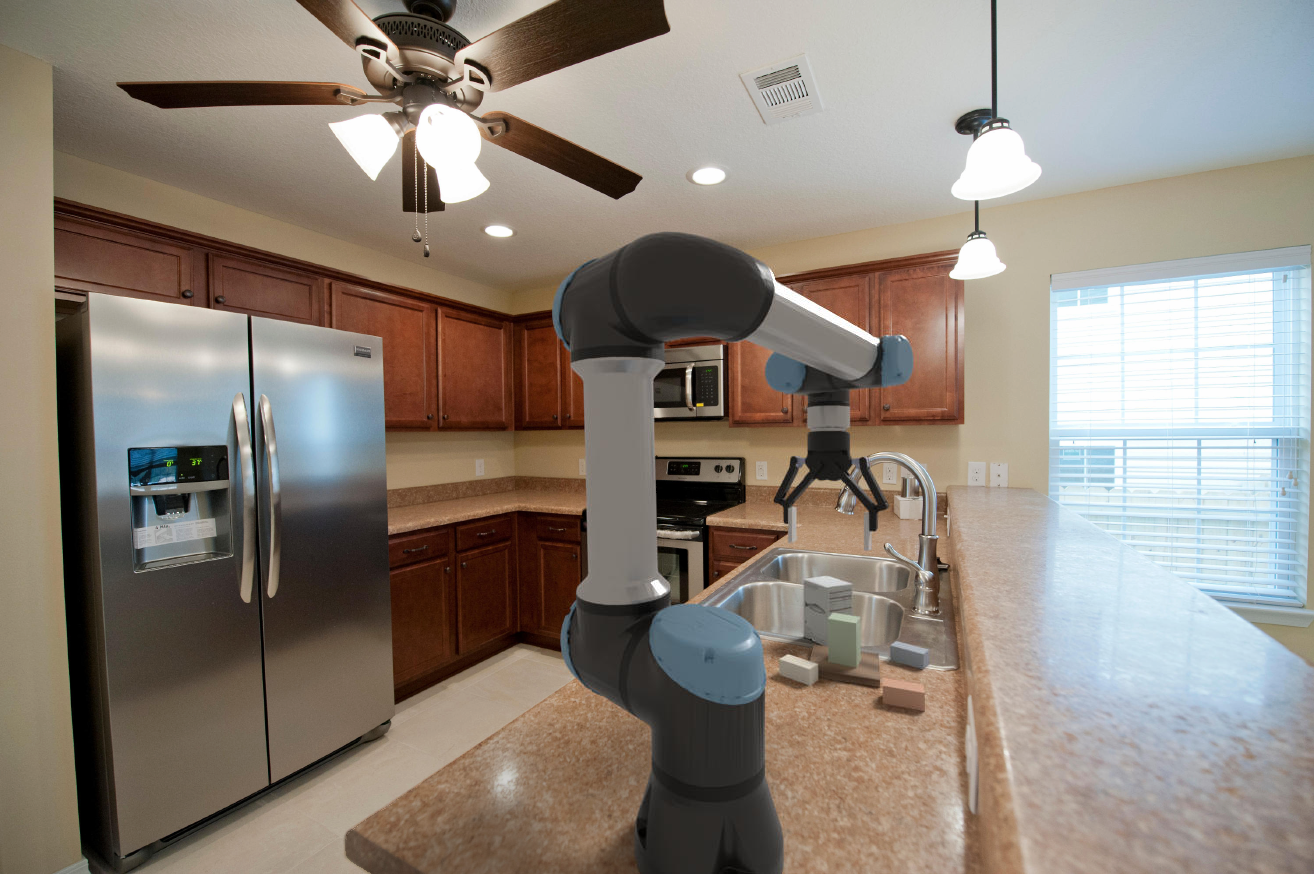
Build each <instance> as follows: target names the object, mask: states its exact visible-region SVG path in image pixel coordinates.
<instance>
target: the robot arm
mask: <svg viewBox="0 0 1314 874" xmlns="http://www.w3.org/2000/svg"><path fill="white" fill-rule="evenodd" d="M551 310H552V312H551V313H552V322H553V327H554V331H555V333H556V335H557V338H558V339H559V340H561V341H562V342H563V346H564V347H565V349H566V350H567V351H568V352H569V353H570V368H571V370H572V371H573V372H575V373H576V374H577V375H578V377H580V378H581V380H582V383H583V410H584V411H583V413H584V453H585V457H584V458H585V493H586V494H585V495H586V496H585V497H586V533H587V536H586V537H587V540H586V541H587V572H588V573H587V576H586V577H585V578H584V579H583V580H582V581H581V582H580V584H578V586H577V588H576V594H575V598H576V600H574V602H573V603H572V604H571V606H570V608H569V609H570V612H569V613H568V614H567V615H565V617H564V619H563V622H562V626H561V631H560V648H561V649H560V650H561V655H562V659H563V660H564V663H565V665H566V667H567V669H568V670H569V672H570V673H571V674H572V676H574V678H575V679H577V680H578V681H579V682H580V683H581V684H582V685H583V686H584V687H585V688H586V689H588V690H590V691H591V692H592V693H593V694H596V695H598V696H602V697H604V698H605V699H606V700H608V701H610V702H611V703H613V704H615V705H616V706H618V707H620V708H621V709H622V710H624V711H626V712H627V713H629V714H630V715H632V716H634V717H635V718H637V719H639V720H640V721H641V722H644V723H645V724H647V726H649V728H650V731H651V732H650V733H651V737H650V738H651V742H650V743H651V745H650V748H651V749H650V750H651V751H650V752H651V767H650V768H651V769H650V770H651V771H650V773H649V774H650V775H649V776H648V779H647V783H646V786H645V789H644V794H643V796H642V799H641V802H640V805H639V809H638V812H637V816H636V818H635V819H636V820H635V825H634V857H635V862H636V865H637V868H638V870H639V873H640V874H783V871H784V870H783V869H784V865H785V864H784V863H785V859H784V857H785V856H784V855H785V854H784V853H785V852H784V849H785V848H784V834H783V829H782V825H781V821H780V819H779V816H778V812H777V809H776V806H775V803H774V800H773V796H772V793H771V791H770V788H769V784H768V781H767V777H766V685H767V672H766V671H767V670H766V665H765V658H764V645H763V642H762V639H761V636H760V634H759V632H758V631H757V629H755V627H754V626H753V625H752V624H751V623H750V622H749V621H748V620H747V619H746V618H745V617H744V618H743V617H742V616H740V615H738V614H736V613H734V612H732V611H729V610H727V609H725V608H722V607H719V606H715V605H709V606H705V605H702V604H700V603H679V604H673V605H672V604H671V603H672V599H671V584H670V582H669V581H668V580H667V579H666V578H665V577H664V576H663V575H661V573H660V572H659V571H658V570H659V568H658V565H659V564H658V532H657V530H658V529H657V523H658V522H657V493H656V492H657V491H656V488H657V486H656V485H657V484H656V481H657V480H656V453H655V452H656V447H655V442H656V441H655V418H654V417H655V410H654V409H655V408H654V407H655V405H654V403H655V402H654V379H655V378H656V376H657V375H658V374H660V372H661V371H663V369H664V368H665V366H666V357H665V355H666V354H665V353H666V352H665V344H666V343H670V342H672V341H677V340H681V339H682V340H683V339H689V338H701V337H703V338H706V337H709V338H713V339H718V340H721V341H723V342H726V343H734V344H735V343H740V342H743V341H748V342H750V343H752V344H755V345H757V346H760V347H762V348H765V349H767V350H769V351H771V352H772V354H770V356H768V358H767V360H766V363H765V366H764V376H765V377H764V378H765V380H766V383H767V384H768V386H769V387H770V388H771V389H773V390H774V391H776V392H779V393H782V394H785V395H795V396H797V395H798V396H806V397H807V401H806V402H807V407H806V408H807V411H806V412H807V414H806V415H807V418H806V419H807V421H806V425H807V426H806V427H807V429H808V430H810V431H809V432H808V433H807V437H806V438H807V441H806V444H807V447H806V449H807V450H806V451H807V453H806V457H800V456H799V455H792V456H791V457H790V458H789V459H790V460H789V466H788V470H787V471H786V473H785V476H784V478H783V480H782V481H781V483H780V486H779V488H778V489H777V492H776V494H775V496H774V497H773V503H775V504H778V505H780V506H781V507H782V509H783V513H782V515H783V516H782V518H783V524H784V525H787V528H788V529H787V531H788V532H787V535H788V536H787V539H788V540H787V542H788V544H789V543H790V544H792V543H795V542H797V541H798V540H797V537H798V536H797V533H798V531H797V529H798V527H797V518H798V517H797V506H794V503H796V501H798V499H799V498H800V497H801V496H802V495H803V494H804V493H805V491H806V490H807V489H808V488H809V487H810V485H811V484H813V482H815V480H817V481H819V482H821V481H831V482H838V481H841V482H842V483H844V485H846V486H847V488H848V489H849V490H850V491H851V493H852V494H853V495H854V496H855V497H856V498H857V500H858V501H859V502H860V503H861V504H862V505H863V507H864V508H865V509H866V510H867V511H866V512H864V513H863V551H865V552H869V551H871V550H872V549H873V548H872V541H873V540H872V532H874V533H875V532H877V530H878V529H879V527H878V523H879V521H878V519H879V515H878V514H879V512H883V511H886V510H888V509H889V508H890V504H889V502H888V500H887V498H886V497H885V495H884V492H883V491H882V489H881V486H880V485H879V483H878V482H877V479H876V478H875V476H874V473H873V472H872V470H871V465H870V460H869V458H868V457H867V456H862V457H857V458H853V457H852V455H851V433H849V431H847V429H850V427H851V406H850V405H851V404H850V402H851V401H850V395H851V394H850V391H853V390H863V389H865V390H866V389H876V388H882V389H886V388H887V387H893V386H900V385H904V384H906V383H907V382H908V381H909V380H910V378H911V376H912V374H913V370H914V353H913V349H912V346H911V343H910V341H909V340H908V339H907V338H906V337H905V336H904V335H901V334H894V335H887V334H886V335H882V336H880V337H875V336H873V335H871V334H870V333H868V332H867V331H865V330H863V329H861V328H860V327H858V326H856V325H854V324H852V323H850V322H849V321H847V320H846V319H844V318H841V316H839V315H836V314H835V313H833V312H831V311H829V310H828V309H827V308H824V307H823V306H821V305H819V304H818V303H816V302H814V301H812V300H811V299H808V298H807V297H805V296H803V295H802V294H799V293H798V292H796V291H794V290H793V289H791V288H789V287H787V286H785V285H784V284H782V283H780V282H778V281H777V280H776V279H775V276H774V273H773V272H772V269H771V268H770V267H769V266H768V265H767V264H766V263H765V262H763V261H761V260H760V259H758V258H756V257H754V256H752V255H751V254H748V253H747V252H745V251H743V250H741V249H739V248H737V247H734V246H731V245H729V244H728V243H727V244H726V243H724V242H721V241H719V240H716V239H712V238H708V237H706V236H700V235H697V234H692V233H687V232H680V231H659V232H654V233H653V232H652V233H649V234H646V235H643V236H641V237H640V236H639V237H638V238H636V239H634V240H633V241H631V242H629V243H627V244H625V245H623V246H621V247H619V248H617V249H615V250H613V251H610V252H609V253H608V254H605V255H603V256H601V257H597V258H593V259H591V260H588V261H586V262H584V263H582V264H580V266H578V267H577V268H576V269H575V270H574V271H572V272H571V273H569V274H568V275H567V276H566V277H565V278H564V279H563V280H562V281H561V282H560V285H559V286H558V288H557V290H556V293H555V295H554V298H553V302H552V309H551ZM804 464H805V466H806V467H807V469H808V472H807V473H806V475H804V477H803V478H802V480H800V482H799V483H798V484H797V485H796V487H795V488H794V489H793V490H792V492H790V494H789V495H788V493H789V490H790V489H791V487H792V485H793V482H794V481H795V480H796V479H795V478H796V477H797V475H798V473H799V470H800V469H801V468H803V465H804ZM853 465H854V466H855V468H856V469H857V470H858V471H860V474H861V476H862V477H863V479H864V481H865V483H866V484H867V487H868V489H869V490H870V492H871V495H872V497H873V498H874V500H875V502H876V503H875V502H874V501H873V500H872V499H871V498H870V497H869V495H868V494H867V493H866V492H865V491H864V489H863V488H862V487H861V486H860V485H859V483H857V481H856V480H855V479H854V476H852V475H851V473H849V470H850V469H851V467H852V466H853ZM787 495H788V496H787Z"/></svg>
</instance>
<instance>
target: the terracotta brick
mask: <svg viewBox="0 0 1314 874" xmlns="http://www.w3.org/2000/svg"><path fill="white" fill-rule="evenodd" d="M925 694H926V693H925V685H924V684H921V683H916V682H908V681H903V680H898V679H891V678H886V677H882V704H885V705H890V706H896V707H901V708H907V709H912V710H918V711H923V712H925V711H926V695H925Z"/></svg>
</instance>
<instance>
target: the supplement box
mask: <svg viewBox="0 0 1314 874" xmlns="http://www.w3.org/2000/svg"><path fill="white" fill-rule="evenodd" d="M853 587H854V586H853V583H851V582H847V581H845V580H841V579H839V578H835V577H833V576H829V575H822V576H814V577H809V578H808V577H807V578H804V579H803V638H807V639H808V640H810V639H813V640H815V641H814V642H815V643H816V644H818V645H821V646H828V618H829V617H830V615H831V614H832V613H839V614H845V615H851V616H854V615H853V614H854V613H853V608H854V607H853V604H854V603H853V601H854V599H853V597H854V596H853ZM813 640H812V641H813Z"/></svg>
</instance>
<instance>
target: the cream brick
mask: <svg viewBox="0 0 1314 874" xmlns="http://www.w3.org/2000/svg"><path fill="white" fill-rule="evenodd" d="M778 661H779V662H778V663H779V665H778V666H779V668H778V670H779V671H778V672H779V676H781V677H785V678H788V679H790V680H793V681H796V682H798V683H802V684H805V686H812V685H813V684H814V683H815V684H816V682H818V681H819V677H818V664H817V663H814V662H810V660H807V659H804V658H800V657H797V656H795V655H792V654H786V655H784V656H782V657H780V658H779V660H778Z"/></svg>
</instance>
